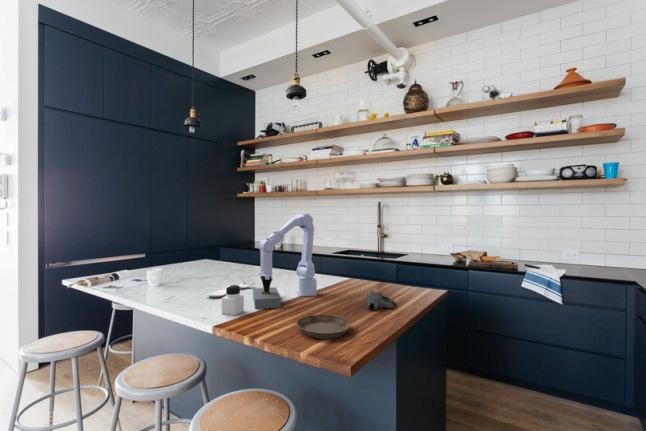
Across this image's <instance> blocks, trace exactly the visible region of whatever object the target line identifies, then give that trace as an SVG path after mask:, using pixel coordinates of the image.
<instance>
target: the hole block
mask: <svg viewBox="0 0 646 431" xmlns="http://www.w3.org/2000/svg"><path fill="white" fill-rule="evenodd" d="M252 299H253V304H254V309H255V310H260V309H275V308H278V309H279V308H282V297H281V294H280V292H279V291H278V289H277V287H270V290H269V294H263V287H257V288H256V287H255V288H253V287H252Z"/></svg>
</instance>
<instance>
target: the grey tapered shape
mask: <svg viewBox="0 0 646 431" xmlns="http://www.w3.org/2000/svg"><path fill="white" fill-rule="evenodd" d="M364 300H365V301H364V302H363V303H364V304H365V305H366V307H367V309H368V310H370V311H371V309H372V311H375V310H378V309H379V308H381V309H392V308H393V309H394V306H393V305H395V306H396V305H397V304H396V302H395V300H394V299H393V298H390V296H389V297H388V296H387V295H383V293H382V292H381V291H380V292H376V291H373V290H371V291H370V293H366V296H365V297H364Z"/></svg>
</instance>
